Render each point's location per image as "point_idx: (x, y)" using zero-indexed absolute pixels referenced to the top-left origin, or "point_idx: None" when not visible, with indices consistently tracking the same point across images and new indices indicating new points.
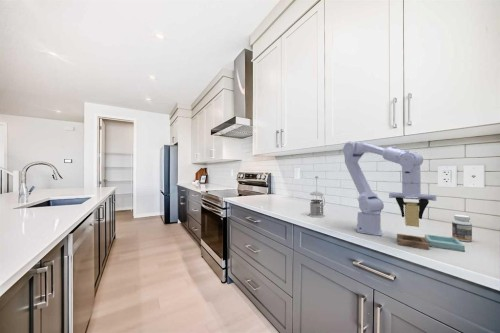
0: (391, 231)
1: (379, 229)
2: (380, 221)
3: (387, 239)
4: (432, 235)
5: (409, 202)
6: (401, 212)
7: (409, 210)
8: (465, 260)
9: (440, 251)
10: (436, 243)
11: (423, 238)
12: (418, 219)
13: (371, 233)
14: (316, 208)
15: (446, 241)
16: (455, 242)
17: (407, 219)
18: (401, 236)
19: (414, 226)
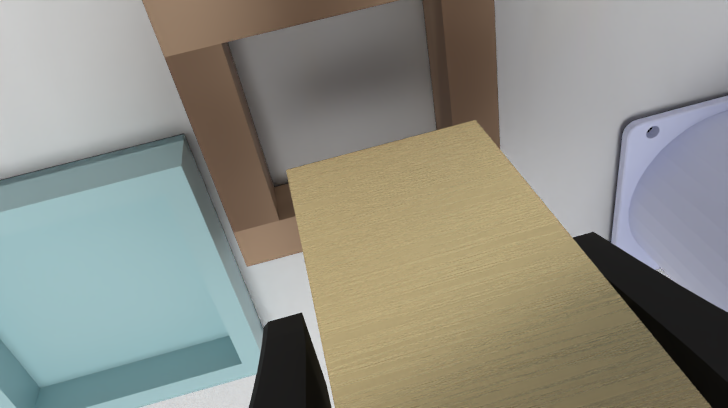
0: None
1: (669, 197)
2: (715, 286)
3: (570, 49)
4: (203, 379)
5: None
6: (676, 285)
7: (560, 359)
8: None
9: (41, 25)
10: (111, 173)
11: (248, 217)
12: (311, 255)
13: (724, 102)
14: None
15: (98, 372)
16: (15, 373)
17: (496, 192)
18: (458, 116)
19: (351, 154)
